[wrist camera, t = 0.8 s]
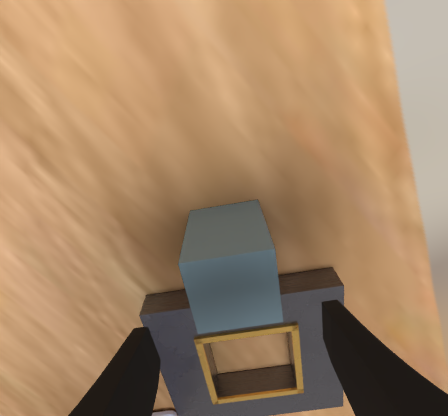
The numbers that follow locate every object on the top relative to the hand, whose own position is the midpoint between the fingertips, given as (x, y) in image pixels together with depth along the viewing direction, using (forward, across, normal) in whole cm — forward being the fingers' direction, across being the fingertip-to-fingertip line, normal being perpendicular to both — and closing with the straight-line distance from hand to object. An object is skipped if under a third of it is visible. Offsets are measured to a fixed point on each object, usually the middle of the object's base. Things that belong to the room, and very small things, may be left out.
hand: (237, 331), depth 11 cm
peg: (+8, 0, 0) cm, 8 cm away
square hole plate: (+8, 0, +11) cm, 13 cm away
